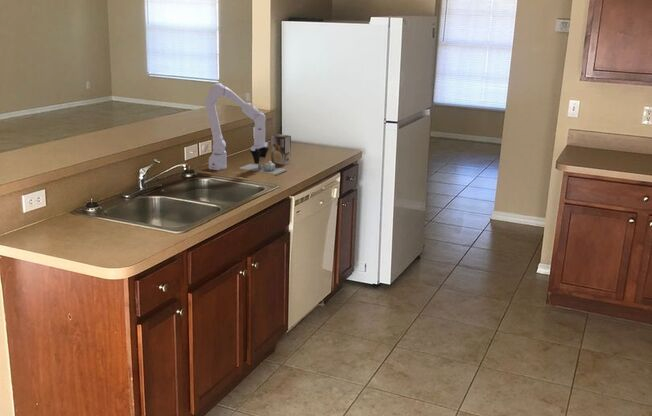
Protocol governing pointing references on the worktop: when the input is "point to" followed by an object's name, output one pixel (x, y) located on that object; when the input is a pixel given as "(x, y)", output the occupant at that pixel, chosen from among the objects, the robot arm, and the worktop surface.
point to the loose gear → (261, 160)
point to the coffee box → (281, 149)
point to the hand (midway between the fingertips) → (259, 162)
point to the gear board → (264, 168)
